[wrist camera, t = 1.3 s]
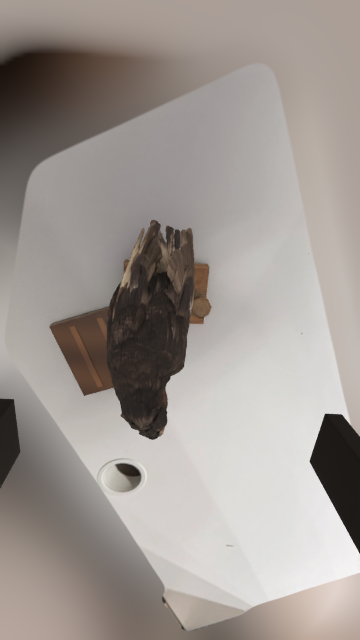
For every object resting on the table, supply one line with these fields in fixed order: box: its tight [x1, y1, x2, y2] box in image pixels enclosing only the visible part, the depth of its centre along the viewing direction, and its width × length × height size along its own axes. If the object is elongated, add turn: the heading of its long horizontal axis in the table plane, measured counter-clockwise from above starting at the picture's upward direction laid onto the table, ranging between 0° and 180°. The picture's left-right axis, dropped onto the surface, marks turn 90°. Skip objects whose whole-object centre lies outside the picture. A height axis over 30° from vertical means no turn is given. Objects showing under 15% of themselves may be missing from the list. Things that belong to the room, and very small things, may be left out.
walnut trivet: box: [50, 307, 113, 396], centre depth 45 cm, size 12×10×1 cm
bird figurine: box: [106, 220, 211, 440], centre depth 30 cm, size 11×14×25 cm
